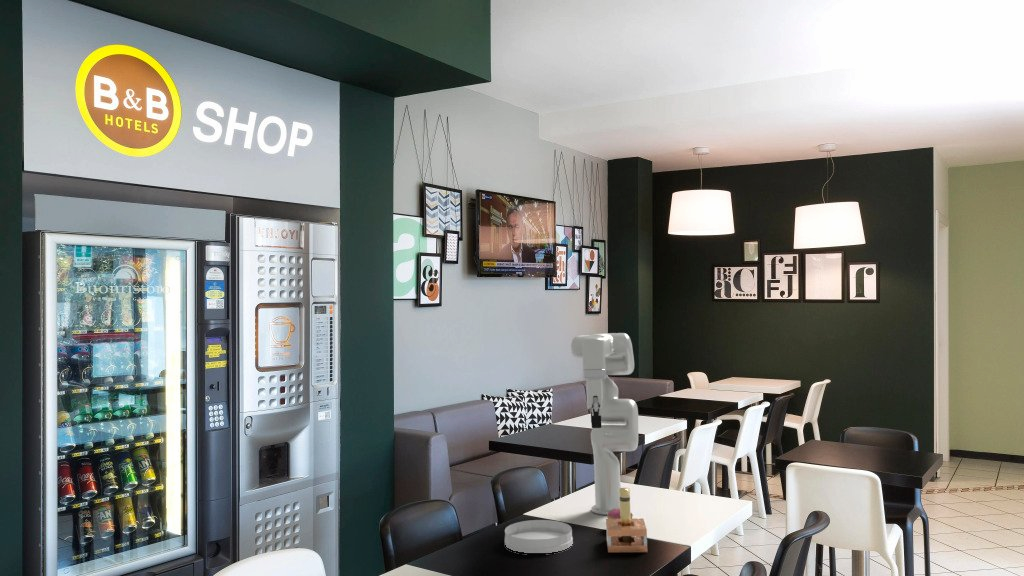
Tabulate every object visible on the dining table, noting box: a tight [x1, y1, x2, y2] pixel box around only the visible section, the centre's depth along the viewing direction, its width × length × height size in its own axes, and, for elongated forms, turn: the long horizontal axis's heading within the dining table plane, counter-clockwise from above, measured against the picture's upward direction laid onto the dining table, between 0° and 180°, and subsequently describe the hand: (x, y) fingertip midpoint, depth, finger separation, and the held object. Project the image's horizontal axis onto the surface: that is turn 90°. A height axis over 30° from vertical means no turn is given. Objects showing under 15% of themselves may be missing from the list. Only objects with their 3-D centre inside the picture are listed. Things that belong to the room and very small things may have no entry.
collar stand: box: [605, 518, 648, 553], centre depth 242 cm, size 12×12×7 cm
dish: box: [504, 519, 574, 553], centre depth 247 cm, size 22×22×5 cm
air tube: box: [619, 487, 631, 542], centre depth 242 cm, size 3×3×18 cm
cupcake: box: [606, 508, 634, 519], centre depth 260 cm, size 9×8×12 cm
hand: (596, 425), depth 255 cm, fingers open, 9 cm apart
